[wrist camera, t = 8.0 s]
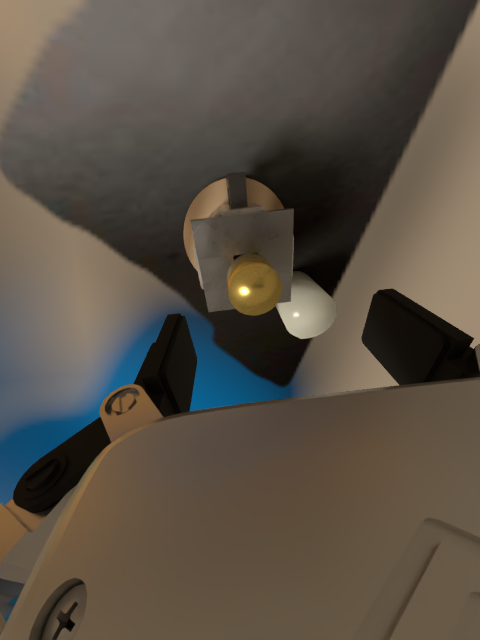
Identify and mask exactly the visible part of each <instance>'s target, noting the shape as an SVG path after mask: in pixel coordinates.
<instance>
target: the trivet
mask: <svg viewBox="0 0 480 640" xmlns="http://www.w3.org/2000/svg"><path fill="white" fill-rule="evenodd" d="M246 190H247V202H252V203H255V204H258V205H260V206H263V207H264V208H265V209H266V210H267V211H270V210H278V209H284V207H283V205H282V204H281V202H280V200H279V199H278V197H277V196H276V195H275V194H274V193H273V192H272V191H271V190H270V189H269V188H268V187H266V186H265V185H263V184H262V183H260V182H257V181H255V180H252V179H249V178H246ZM225 203H228V193H227V184H226V178H224V179H221V180H218V181H216V182H214V183H212V184H210V185H209V186H207V187H206V188H205V189H203V190H202V191H201V192H200V193H199V194H198V195H197V197H196V198H195V199H194V201H193V202H192V204H191V206H190V208H189V210H188V212H187V215H186V219H185V223H184V243H185V248H186V252H187V255H188V257H189V259H190V261H191V263H192V265H193V266H194V267H195V269H196V270H197V265H196V260H195V256H194V251H193V248H194V246H195V243H194V238H193V233H192V228H191V224H190V221H191V220H194V219H203V218H209V216H210V215H211V214H212V212H213V211H214V210H215V209H217V207H218V206H219V205H223V204H225ZM197 271H198V270H197Z"/></svg>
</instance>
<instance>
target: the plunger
mask: <svg viewBox="0 0 480 640" xmlns="http://www.w3.org/2000/svg"><path fill="white" fill-rule="evenodd" d="M233 259H234V261H233V263H232V264H231V265H230V267H229V270H228V274H227V281H228V293H229V299H230V302H231V303H232V305H233V306H234V307H235V308H236V309H237V310H238V311H239V312H241V313H243V314H247V315H260V314H264V313H266V312H268V311H270V310H271V309H272V308H273V307H275V305H276V304H277V303H278V301H279V300H280V297H281V294H282V283H281V280H280V278H279V276H278V274H277V273H276V272H275V270H274V269H273V267H272V266H271V264H270V263H269V262H268V260H267V259H265V258H264V257H263V256H261V255H258V254H256V253H250V254H242V255H234V256H233Z"/></svg>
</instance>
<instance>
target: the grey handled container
mask: <svg viewBox="0 0 480 640" xmlns="http://www.w3.org/2000/svg"><path fill="white" fill-rule="evenodd" d="M226 184H227V193H228V203H225V204H223V205H219V206H218V207H217V209H215V210H214V211H213V212H212V214H211V215H210V216H209V218H203V219H194V220H191V221H190V224H191V228H192V233H193V238H194V243H195V246H194V248H193V251H194V256H195V260H196V265H197V270H198V275H199V279H200V284H201V288H202V289H204V292H205V296H206V301H207V306H208V311H209V312H213V311H221V310H229V309H236V308H235V307H234V306H233V305H232V303H231V302H230V299H229V293H228V281H227V274H228V270H229V267H230V265H231V264H232V263H233V261H234V259H233V256H234V255H242V254H250V253H256V254H258V255H261V256H263V257H264V258H265V259H267V260H268V262H269V263H270V264H271V266H272V267H273V269H274V270H275V272H276V273H277V274H278V276H279V278H280V280H281V283H282V294H281V297H280V300H279V301H278V303H284V302H291V282H292V276H293V249H294V236H293V221H294V209H293V208H287V209H278V210H270V211H267V210H266V209H265V208H264V207H263V206H260V205H258V204H255V203H252V202H247V190H246V176H245V172H240V173H231V174H227V177H226Z"/></svg>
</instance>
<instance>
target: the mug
mask: <svg viewBox="0 0 480 640" xmlns="http://www.w3.org/2000/svg"><path fill="white" fill-rule="evenodd" d="M275 306H276V308H277V310H278V312H279V314H280V316H281V318H282V320H283V322H284V324H285V326H286V328H287V330H288V331H289V332H290V333H291V334H292V335H294V336H296V337H299V338H300V339H303V338H311V337H315V336H317V335H319V334H321V333H323V332H325V331H326V330H327V329H328V328H329V327H330V326H331V325H332V323H333V322H334V320H335V318H336V313H337V307H336V303H335V302H334V300H333V299H332V298H331V297H330V296H329V295H328V294H327V293H326V292H325V291H324V290H323V289H322V288H321V287H320V286H319V285H318V284H317V283H315V282H314V281H313V280H312V279H311V278H310V277H309V276H308V275H307V274H305V273H303V272H300V271H293V276H292V282H291V302H284V303H277V304H276V305H275Z"/></svg>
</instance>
